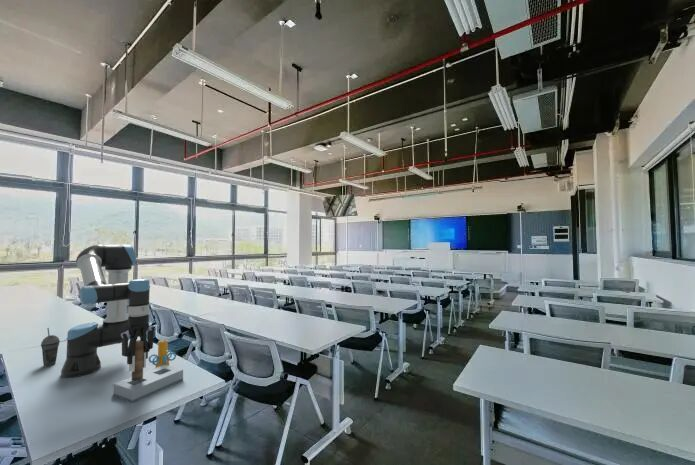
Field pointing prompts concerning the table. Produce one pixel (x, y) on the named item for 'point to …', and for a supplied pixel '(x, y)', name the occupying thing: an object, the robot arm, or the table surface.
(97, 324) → the robot arm
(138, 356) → the pin
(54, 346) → the beverage cup
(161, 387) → the hole block
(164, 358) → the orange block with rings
